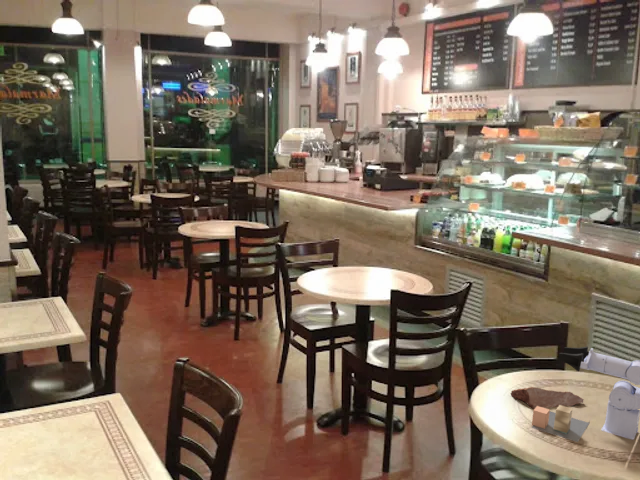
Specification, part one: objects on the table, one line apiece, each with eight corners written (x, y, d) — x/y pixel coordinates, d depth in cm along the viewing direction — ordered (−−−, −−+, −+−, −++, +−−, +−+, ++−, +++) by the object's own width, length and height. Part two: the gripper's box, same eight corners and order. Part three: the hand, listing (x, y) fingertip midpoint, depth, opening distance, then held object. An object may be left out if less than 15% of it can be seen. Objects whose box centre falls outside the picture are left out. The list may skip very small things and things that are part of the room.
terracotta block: (548, 424, 200) (549, 409, 199) (544, 428, 197) (546, 413, 196) (535, 420, 202) (537, 405, 201) (531, 424, 199) (533, 410, 198)
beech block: (569, 429, 197) (572, 408, 196) (566, 434, 194) (569, 413, 193) (556, 425, 200) (559, 404, 198) (553, 429, 196) (556, 409, 195)
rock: (590, 405, 214) (580, 378, 219) (528, 411, 209) (519, 382, 214) (575, 415, 222) (565, 388, 228) (515, 421, 217) (506, 393, 222)
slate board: (589, 424, 202) (589, 422, 202) (577, 443, 190) (577, 441, 189) (545, 411, 210) (545, 410, 210) (531, 429, 197) (531, 427, 197)
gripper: (611, 347, 203) (568, 336, 211) (604, 358, 191) (558, 346, 198) (607, 367, 205) (564, 356, 212) (600, 379, 192) (555, 367, 200)
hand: (561, 353), depth 205 cm, fingers open, 7 cm apart
